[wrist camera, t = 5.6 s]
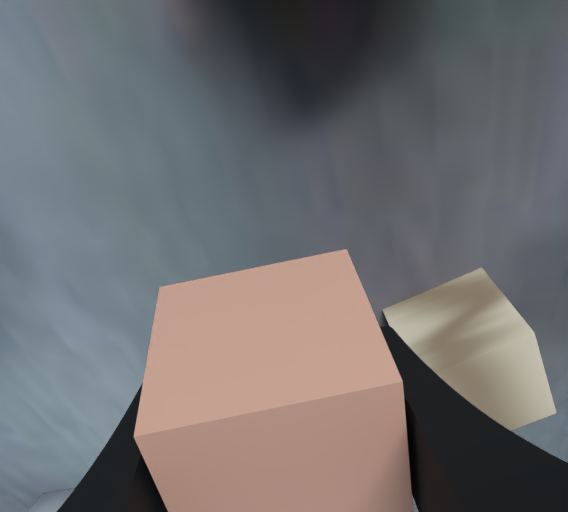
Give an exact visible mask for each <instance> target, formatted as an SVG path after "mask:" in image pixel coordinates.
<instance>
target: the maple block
mask: <svg viewBox="0 0 568 512" xmlns="http://www.w3.org/2000/svg"><path fill="white" fill-rule="evenodd" d="M383 312H384V315H385V317H386V319H387V321H388V324H389V326H390V327H392V328H393V329H394V330H395V331H396V333H397V334H398V335H399V336H400V337H401V338H402V340H403V341H404V342H405V343H406V344H407V345H408V346H409V347H410V348H411V349H412V350H413V351H414V353H415V354H416V355H417V356H418V357H419V358H420V359H421V360H422V361H423V362H424V363H425V364H426V365H427V366H429V367H430V368H431V369H432V370H433V371H434V372H435V373H436V374H437V375H438V376H439V377H440V378H441V379H443V380H444V381H445V382H446V383H447V384H448V385H449V386H451V387H452V388H453V389H454V390H455V391H457V392H458V393H459V394H460V395H461V396H463V397H464V398H465V399H466V400H468V401H469V402H470V403H471V404H473V405H474V406H475V407H477V408H478V409H479V410H481V411H482V412H483V413H485V414H486V415H488V416H489V417H491V418H492V419H493V420H495V421H496V422H498V423H499V424H501V425H502V426H504V427H505V428H507V429H508V430H510V431H511V430H514V429H516V428H519V427H522V426H524V425H527V424H529V423H532V422H535V421H537V420H540V419H543V418H545V417H548V416H550V415H553V414H556V409H555V406H554V402H553V398H552V395H551V391H550V387H549V384H548V380H547V377H546V373H545V369H544V366H543V362H542V358H541V355H540V351H539V347H538V344H537V340H536V336H535V333H534V331H533V330H532V329H531V328H530V326H529V325H528V324H527V323H526V322H525V320H524V319H523V318H522V317H521V315H520V314H519V313H518V312H517V310H516V309H515V308H514V307H513V306H512V304H511V303H510V302H509V301H508V299H507V298H506V297H505V296H504V294H503V293H502V292H501V291H500V290H499V288H498V287H497V286H496V285H495V283H494V282H493V281H492V280H491V278H490V277H489V276H488V275H487V274H486V272H485V271H484V270H483V269H482V268H480V269H477V270H475V271H473V272H470V273H468V274H465V275H463V276H461V277H458V278H456V279H454V280H451V281H449V282H447V283H444V284H442V285H440V286H437V287H435V288H433V289H430V290H428V291H426V292H423V293H421V294H419V295H416V296H414V297H412V298H409V299H407V300H404V301H402V302H400V303H397V304H395V305H393V306H390V307H388V308H386V309H383Z"/></svg>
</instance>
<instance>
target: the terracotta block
mask: <svg viewBox="0 0 568 512" xmlns="http://www.w3.org/2000/svg"><path fill="white" fill-rule="evenodd" d="M134 439H135V441H136V443H137V445H138V448H139V450H140V452H141V454H142V456H143V458H144V461H145V463H146V465H147V467H148V469H149V471H150V474H151V476H152V478H153V480H154V482H155V484H156V487H157V489H158V491H159V493H160V495H161V497H162V500H163V502H164V504H165V506H166V508H167V510H168V512H413V503H412V490H411V477H410V465H409V452H408V440H407V427H406V414H405V402H404V389H403V381H402V378H401V376H400V374H399V371H398V369H397V367H396V364H395V362H394V360H393V357H392V355H391V352H390V350H389V348H388V345H387V343H386V341H385V338H384V336H383V334H382V331H381V329H380V327H379V324H378V322H377V320H376V317H375V315H374V313H373V310H372V308H371V305H370V303H369V301H368V298H367V296H366V294H365V291H364V289H363V287H362V284H361V282H360V280H359V277H358V275H357V273H356V270H355V268H354V266H353V263H352V261H351V259H350V256H349V254H348V251H347V249H344V250H340V251H335V252H330V253H325V254H320V255H315V256H310V257H305V258H300V259H295V260H290V261H286V262H281V263H276V264H271V265H266V266H261V267H256V268H251V269H246V270H241V271H236V272H232V273H227V274H222V275H217V276H212V277H207V278H202V279H197V280H192V281H187V282H182V283H178V284H173V285H168V286H163V287H160V289H159V295H158V300H157V306H156V312H155V317H154V323H153V329H152V334H151V340H150V346H149V351H148V357H147V363H146V369H145V374H144V380H143V386H142V391H141V397H140V403H139V408H138V414H137V420H136V426H135V431H134Z"/></svg>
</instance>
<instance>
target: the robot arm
mask: <svg viewBox="0 0 568 512" xmlns="http://www.w3.org/2000/svg"><path fill="white" fill-rule="evenodd" d="M380 329H381V331H382V334H383V336H384V338H385V341H386V343H387V345H388V348H389V350H390V352H391V355H392V357H393V360H394V362H395V364H396V367H397V369H398V371H399V374H400V376H401V378H402V381H403V389H404V402H405V414H406V427H407V440H408V452H409V465H410V477H411V490H412V495H413V497H414V500H415V502H416V505H417V508H418V511H419V512H568V463H567V462H565V461H563V460H561V459H559V458H557V457H555V456H553V455H551V454H549V453H547V452H546V451H544V450H542V449H540V448H539V447H537V446H535V445H533V444H532V443H530V442H528V441H526V440H525V439H523V438H521V437H519V436H518V435H516V434H515V433H513V432H511V431H510V430H508V429H507V428H505V427H504V426H502V425H501V424H499V423H498V422H496V421H495V420H493V419H492V418H491V417H489V416H488V415H486V414H485V413H483V412H482V411H481V410H479V409H478V408H477V407H475V406H474V405H473V404H471V403H470V402H469V401H468V400H466V399H465V398H464V397H463V396H461V395H460V394H459V393H458V392H457V391H455V390H454V389H453V388H452V387H451V386H449V385H448V384H447V383H446V382H445V381H444V380H443V379H441V378H440V377H439V376H438V375H437V374H436V373H435V372H434V371H433V370H432V369H431V368H430V367H429V366H427V365H426V364H425V363H424V362H423V361H422V360H421V359H420V358H419V357H418V356H417V355H416V354H415V353H414V351H413V350H412V349H411V348H410V347H409V346H408V345H407V344H406V343H405V342H404V341H403V340H402V338H401V337H400V336H399V335H398V334H397V333H396V331H395V330H394V329H393V328H392V327H390V326H384V327H380ZM142 386H143V383H142V385H141V387H140V389H139V390H138V392H137V394H136V396H135V397H134V399H133V401H132V403H131V404H130V406H129V408H128V410H127V411H126V413H125V415H124V417H123V418H122V420H121V421H120V423H119V425H118V426H117V428H116V430H115V431H114V433H113V435H112V436H111V438H110V439H109V441H108V443H107V444H106V446H105V447H104V449H103V450H102V452H101V453H100V454H99V456H98V457H97V459H96V460H95V462H94V463H93V465H92V466H91V468H90V469H89V471H88V472H87V473H86V475H85V476H84V477H83V479H82V480H81V482H80V483H79V484H78V485H77V487H76V488H75V489H74V491H73V492H72V493H71V494H70V496H69V497H68V498H67V499H66V501H65V502H64V503H63V504H62V506H61V507H60V508H59V509H58V510H57V512H168V510H167V508H166V506H165V504H164V502H163V500H162V497H161V495H160V493H159V491H158V489H157V487H156V484H155V482H154V480H153V478H152V476H151V474H150V471H149V469H148V467H147V465H146V463H145V461H144V458H143V456H142V454H141V452H140V450H139V448H138V445H137V443H136V441H135V439H134V431H135V426H136V420H137V414H138V408H139V403H140V397H141V391H142Z"/></svg>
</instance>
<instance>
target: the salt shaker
mask: <svg viewBox="0 0 568 512" xmlns="http://www.w3.org/2000/svg"><path fill="white" fill-rule="evenodd" d="M74 489H75V488H73V489H67V490H61V491H55V492H49V493H43V494H42V496H41V497H40V498H39V499H38V500H37V501H36V502H35V503H34V505H33V506H32V507H31V508H30V509H29V510H28V511H27V512H57V510H58V509H59V508H60V507H61V506H62V504H63V503H64V502H65V501H66V499H67V498H68V497H69V496H70V494H71V493H72V492H73V491H74Z"/></svg>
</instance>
